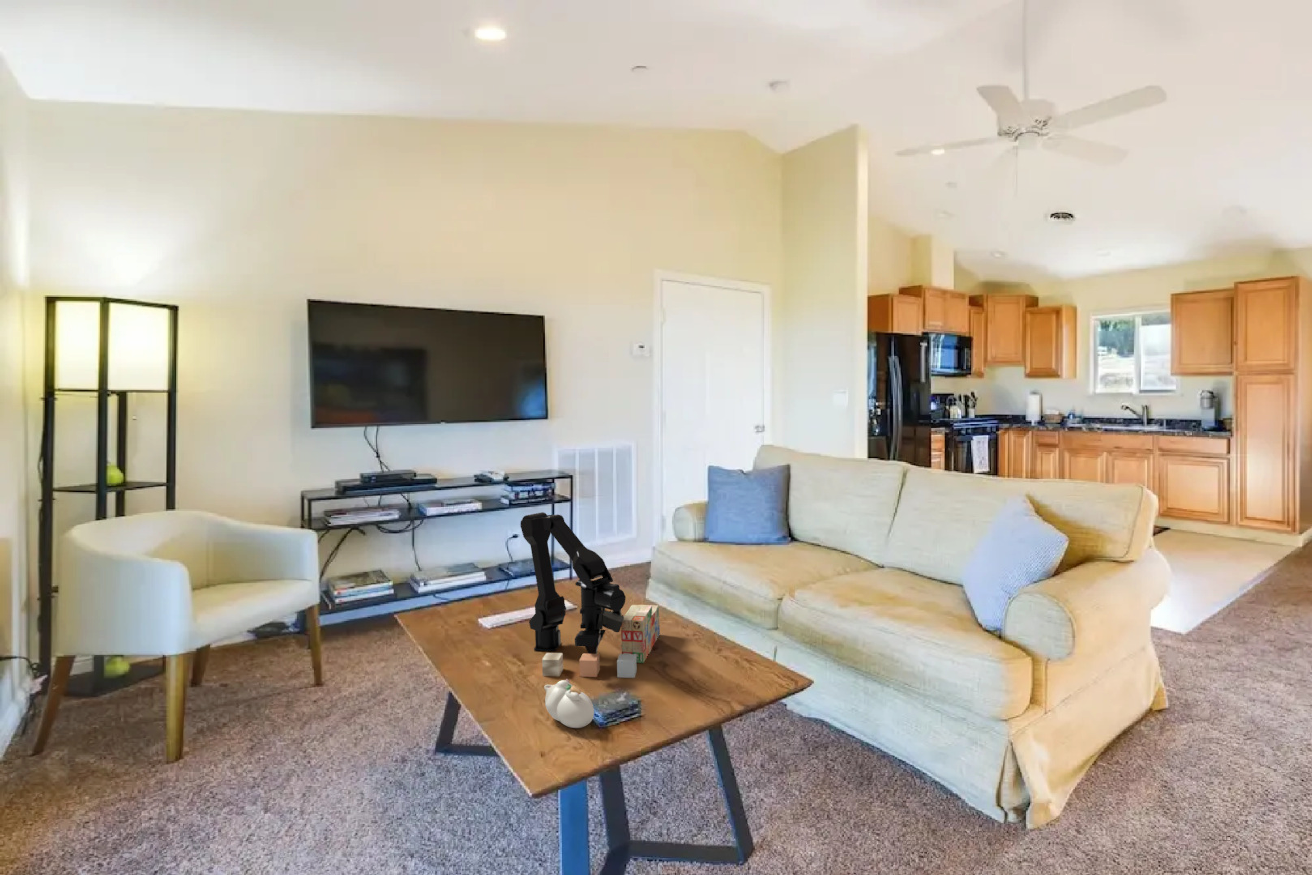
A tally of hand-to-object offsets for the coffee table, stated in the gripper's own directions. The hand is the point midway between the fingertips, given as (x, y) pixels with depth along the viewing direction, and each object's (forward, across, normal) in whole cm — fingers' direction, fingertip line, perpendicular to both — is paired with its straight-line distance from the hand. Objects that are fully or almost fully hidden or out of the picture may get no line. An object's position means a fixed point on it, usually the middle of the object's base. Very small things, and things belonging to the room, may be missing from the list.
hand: (593, 659), depth 182 cm
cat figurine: (+2, -30, 0) cm, 30 cm away
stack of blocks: (+2, +13, -12) cm, 17 cm away
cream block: (+2, -5, +10) cm, 11 cm away
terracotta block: (+2, -5, 0) cm, 5 cm away
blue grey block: (+2, -5, -10) cm, 11 cm away
